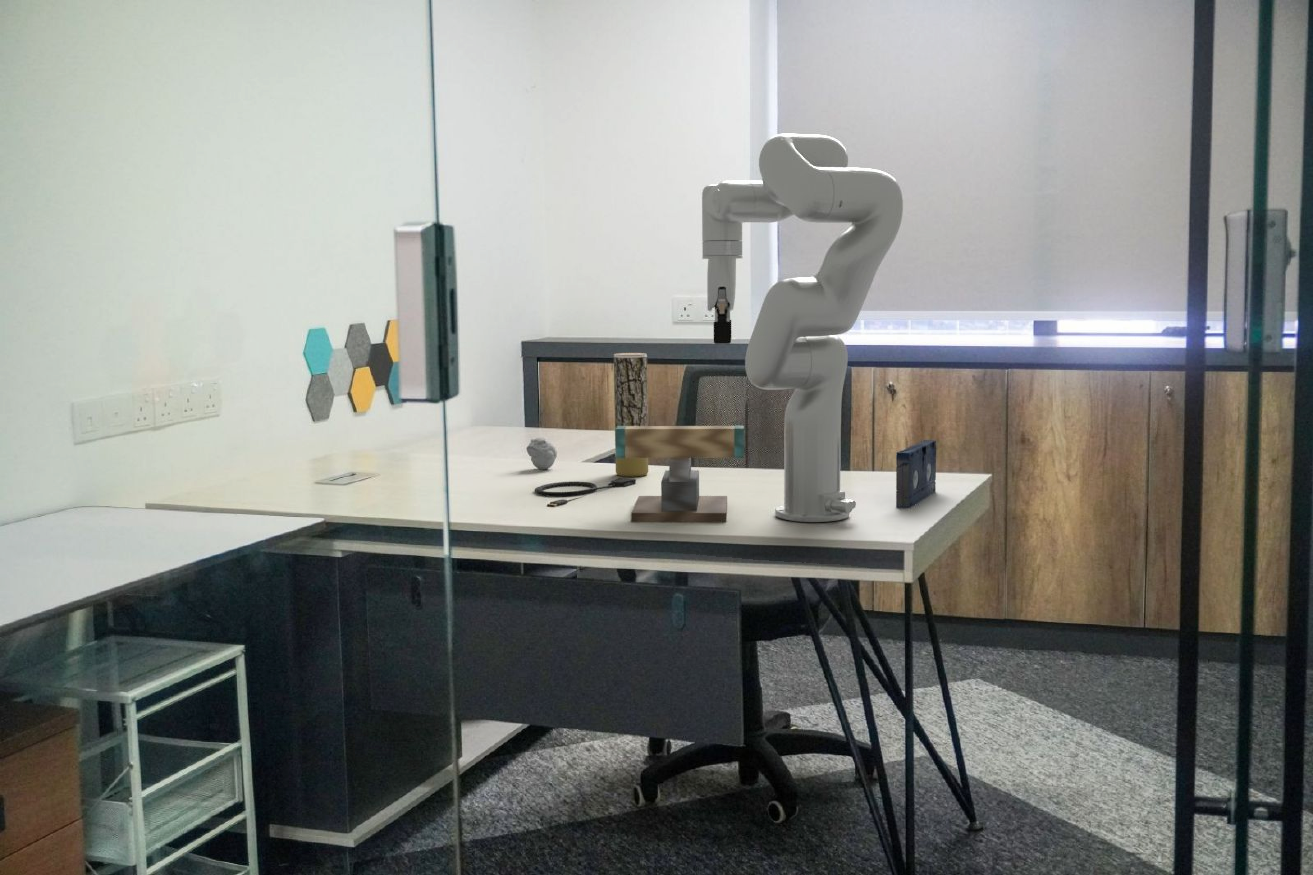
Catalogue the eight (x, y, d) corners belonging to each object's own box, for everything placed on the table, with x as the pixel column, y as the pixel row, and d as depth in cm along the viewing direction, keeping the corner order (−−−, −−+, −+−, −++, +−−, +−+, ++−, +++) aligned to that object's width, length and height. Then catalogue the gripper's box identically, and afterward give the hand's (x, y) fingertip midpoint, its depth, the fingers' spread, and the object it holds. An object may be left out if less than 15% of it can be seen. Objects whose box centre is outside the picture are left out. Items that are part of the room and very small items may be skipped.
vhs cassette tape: (923, 491, 240) (923, 439, 238) (938, 492, 238) (939, 440, 237) (892, 508, 224) (893, 452, 222) (909, 509, 222) (910, 453, 221)
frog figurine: (520, 470, 269) (519, 437, 268) (543, 466, 275) (543, 434, 274) (541, 473, 265) (540, 440, 265) (564, 468, 271) (563, 436, 270)
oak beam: (743, 454, 221) (743, 425, 220) (743, 458, 217) (743, 428, 216) (618, 454, 222) (617, 425, 222) (616, 458, 218) (615, 428, 218)
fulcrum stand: (727, 504, 228) (727, 449, 227) (726, 521, 213) (725, 463, 211) (638, 504, 230) (638, 449, 228) (631, 521, 214) (630, 463, 212)
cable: (495, 503, 235) (495, 495, 234) (581, 481, 258) (581, 473, 258) (555, 510, 228) (555, 501, 227) (637, 486, 252) (637, 478, 251)
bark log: (644, 477, 258) (643, 355, 254) (612, 477, 259) (610, 355, 256) (651, 472, 264) (650, 353, 261) (619, 471, 266) (617, 352, 262)
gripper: (703, 251, 247) (704, 339, 249) (700, 250, 230) (701, 345, 232) (742, 251, 247) (742, 339, 249) (742, 250, 229) (742, 344, 232)
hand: (722, 341), depth 241 cm, fingers open, 9 cm apart
